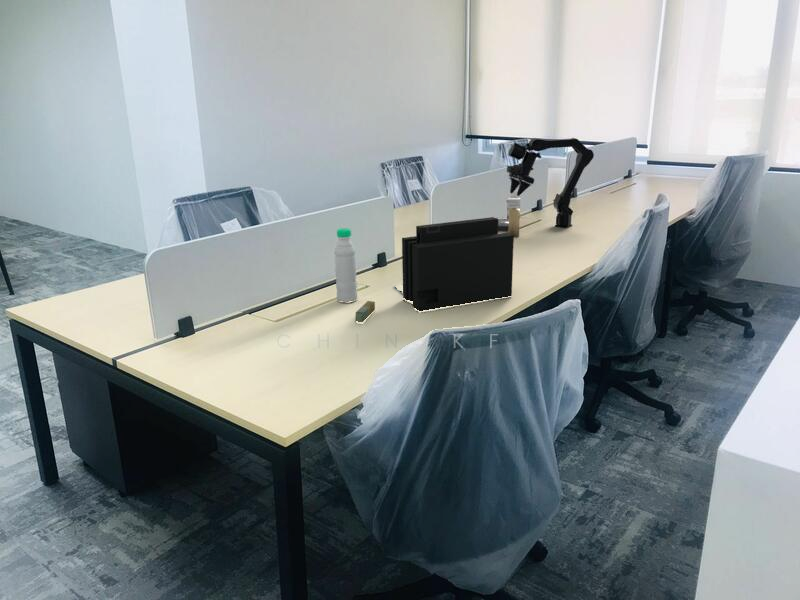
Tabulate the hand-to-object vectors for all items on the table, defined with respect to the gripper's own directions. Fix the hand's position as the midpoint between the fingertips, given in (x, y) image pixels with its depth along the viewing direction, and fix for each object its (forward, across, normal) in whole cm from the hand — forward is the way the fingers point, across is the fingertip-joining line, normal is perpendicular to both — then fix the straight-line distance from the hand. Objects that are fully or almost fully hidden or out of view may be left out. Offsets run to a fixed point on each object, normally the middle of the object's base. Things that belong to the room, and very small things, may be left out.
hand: (514, 194), depth 323 cm
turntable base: (+17, -4, +4) cm, 18 cm away
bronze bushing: (+18, +14, +2) cm, 23 cm away
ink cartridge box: (+13, -19, +12) cm, 26 cm away
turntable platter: (+15, -4, +3) cm, 16 cm away
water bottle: (+57, +87, -77) cm, 129 cm away
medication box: (+56, +105, -73) cm, 140 cm away
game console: (+43, +87, -44) cm, 107 cm away
